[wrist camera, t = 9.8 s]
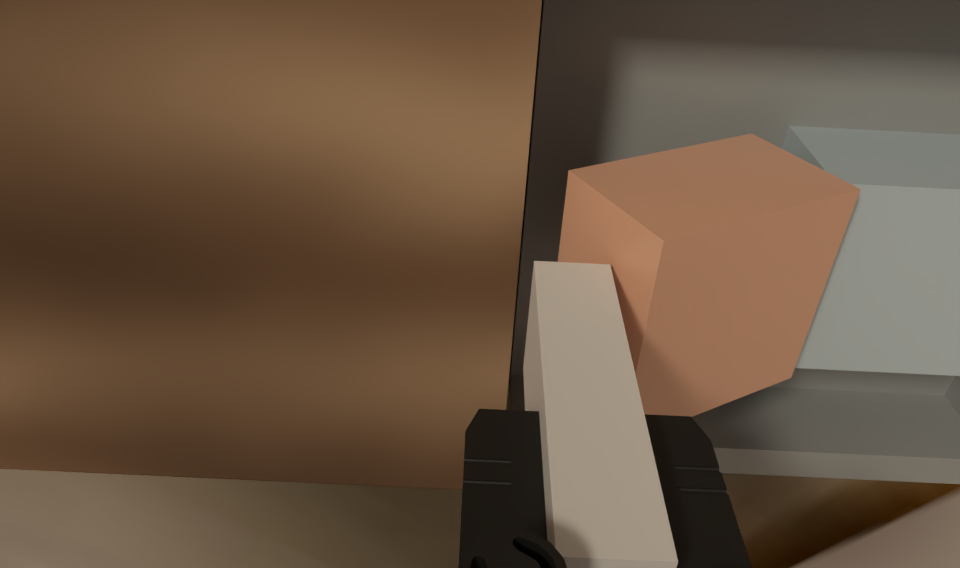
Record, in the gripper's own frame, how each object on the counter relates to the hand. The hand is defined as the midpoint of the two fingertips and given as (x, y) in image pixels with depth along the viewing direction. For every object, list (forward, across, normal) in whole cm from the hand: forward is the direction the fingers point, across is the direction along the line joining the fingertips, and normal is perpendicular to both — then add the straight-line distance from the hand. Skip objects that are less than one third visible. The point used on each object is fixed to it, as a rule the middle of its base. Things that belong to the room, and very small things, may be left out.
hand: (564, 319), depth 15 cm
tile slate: (+2, +8, 0) cm, 8 cm away
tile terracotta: (+3, +2, 0) cm, 4 cm away
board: (+5, -11, 0) cm, 12 cm away
